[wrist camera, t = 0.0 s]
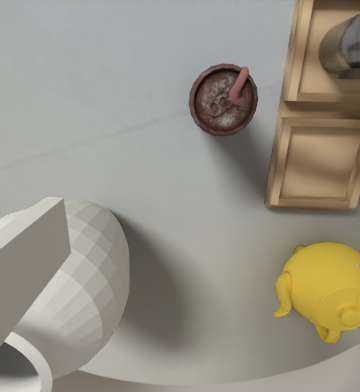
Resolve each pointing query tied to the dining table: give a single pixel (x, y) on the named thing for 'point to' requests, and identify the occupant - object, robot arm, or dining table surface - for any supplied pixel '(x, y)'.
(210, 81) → the can
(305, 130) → the tray
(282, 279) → the teapot
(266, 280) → the dining table surface
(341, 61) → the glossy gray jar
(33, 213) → the robot arm
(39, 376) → the vase
